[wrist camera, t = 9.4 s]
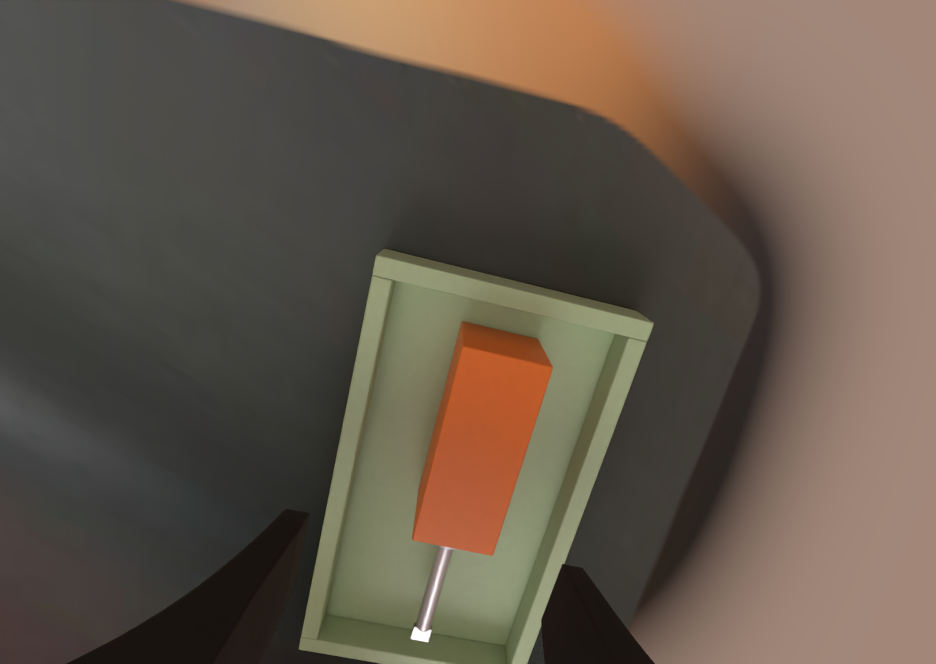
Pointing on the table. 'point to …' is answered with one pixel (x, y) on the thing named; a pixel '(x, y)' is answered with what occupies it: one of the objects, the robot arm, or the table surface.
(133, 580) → the table surface
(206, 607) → the robot arm
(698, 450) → the table surface
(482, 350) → the screwdriver
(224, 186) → the table surface
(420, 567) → the tray
